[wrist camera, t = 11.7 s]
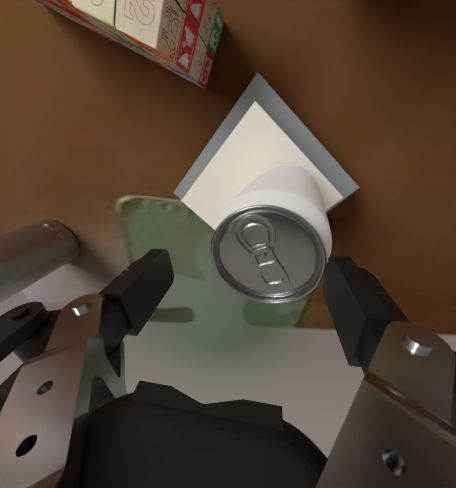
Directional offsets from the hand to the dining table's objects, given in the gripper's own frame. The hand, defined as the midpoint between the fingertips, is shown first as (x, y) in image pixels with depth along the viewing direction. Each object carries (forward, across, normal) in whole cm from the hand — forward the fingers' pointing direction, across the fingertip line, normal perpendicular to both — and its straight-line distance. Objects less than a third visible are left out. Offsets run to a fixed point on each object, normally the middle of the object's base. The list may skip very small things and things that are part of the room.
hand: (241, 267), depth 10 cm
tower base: (+20, 0, 0) cm, 20 cm away
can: (+12, -3, 0) cm, 12 cm away
